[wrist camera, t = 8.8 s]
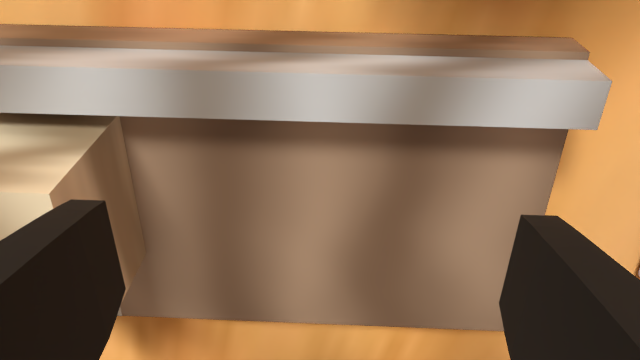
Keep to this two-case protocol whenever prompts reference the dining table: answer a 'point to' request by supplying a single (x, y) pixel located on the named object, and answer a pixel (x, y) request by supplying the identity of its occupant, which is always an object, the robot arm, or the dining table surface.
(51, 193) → the block
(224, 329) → the dining table surface
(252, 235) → the marking board
